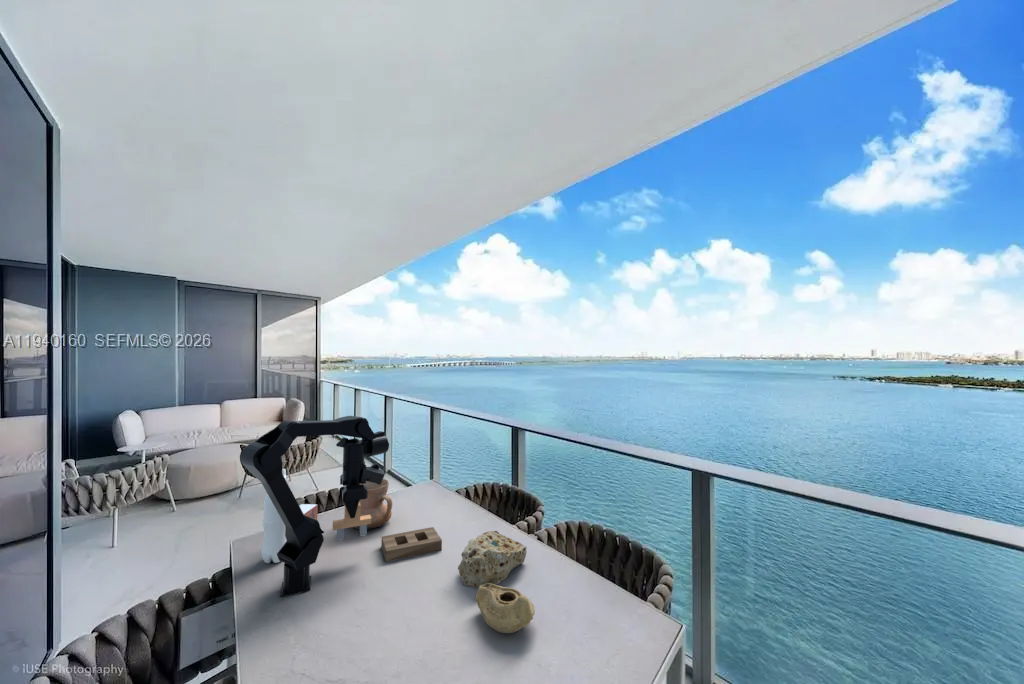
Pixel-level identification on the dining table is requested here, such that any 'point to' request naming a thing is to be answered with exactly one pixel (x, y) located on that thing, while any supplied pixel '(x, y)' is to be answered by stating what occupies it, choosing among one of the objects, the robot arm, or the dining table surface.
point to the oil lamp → (504, 608)
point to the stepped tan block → (351, 523)
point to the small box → (310, 510)
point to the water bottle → (272, 530)
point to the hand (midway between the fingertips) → (352, 515)
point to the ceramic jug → (376, 504)
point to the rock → (490, 559)
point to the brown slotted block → (410, 544)
